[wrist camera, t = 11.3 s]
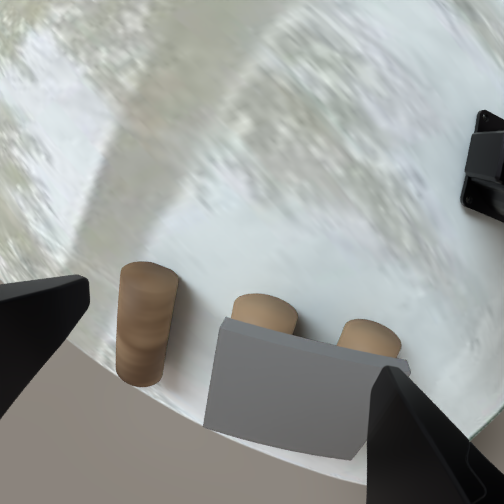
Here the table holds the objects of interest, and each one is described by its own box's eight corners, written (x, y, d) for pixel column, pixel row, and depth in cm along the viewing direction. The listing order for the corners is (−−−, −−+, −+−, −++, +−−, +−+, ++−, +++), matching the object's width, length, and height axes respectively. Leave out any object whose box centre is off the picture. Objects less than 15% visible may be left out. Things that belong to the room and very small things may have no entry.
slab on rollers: (395, 326, 20) (411, 372, 15) (349, 412, 23) (351, 460, 18) (242, 287, 21) (219, 327, 16) (222, 382, 24) (202, 427, 19)
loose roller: (186, 273, 22) (164, 299, 18) (169, 363, 25) (151, 394, 21) (137, 256, 22) (109, 277, 18) (128, 346, 25) (107, 374, 22)
